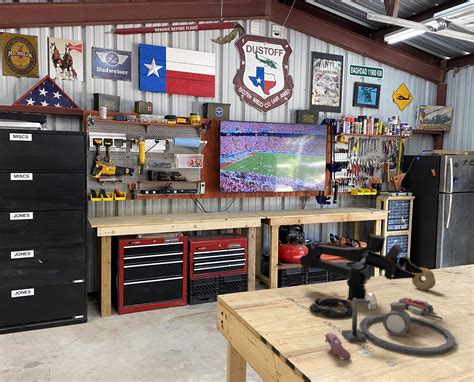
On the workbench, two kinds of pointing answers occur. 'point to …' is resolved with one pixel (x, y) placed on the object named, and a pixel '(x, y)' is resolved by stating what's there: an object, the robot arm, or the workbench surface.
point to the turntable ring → (405, 349)
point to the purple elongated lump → (337, 346)
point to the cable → (331, 303)
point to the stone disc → (428, 282)
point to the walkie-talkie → (418, 307)
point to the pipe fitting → (397, 319)
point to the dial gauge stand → (355, 334)
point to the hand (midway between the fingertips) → (418, 274)
